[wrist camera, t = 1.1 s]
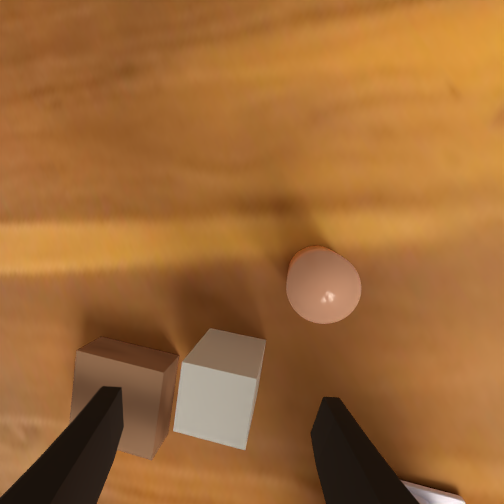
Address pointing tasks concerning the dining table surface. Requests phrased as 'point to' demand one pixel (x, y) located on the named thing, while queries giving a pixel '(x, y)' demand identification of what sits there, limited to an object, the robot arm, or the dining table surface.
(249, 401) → the grey block
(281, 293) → the dining table surface
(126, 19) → the dining table surface
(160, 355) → the walnut slab
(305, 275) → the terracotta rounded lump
